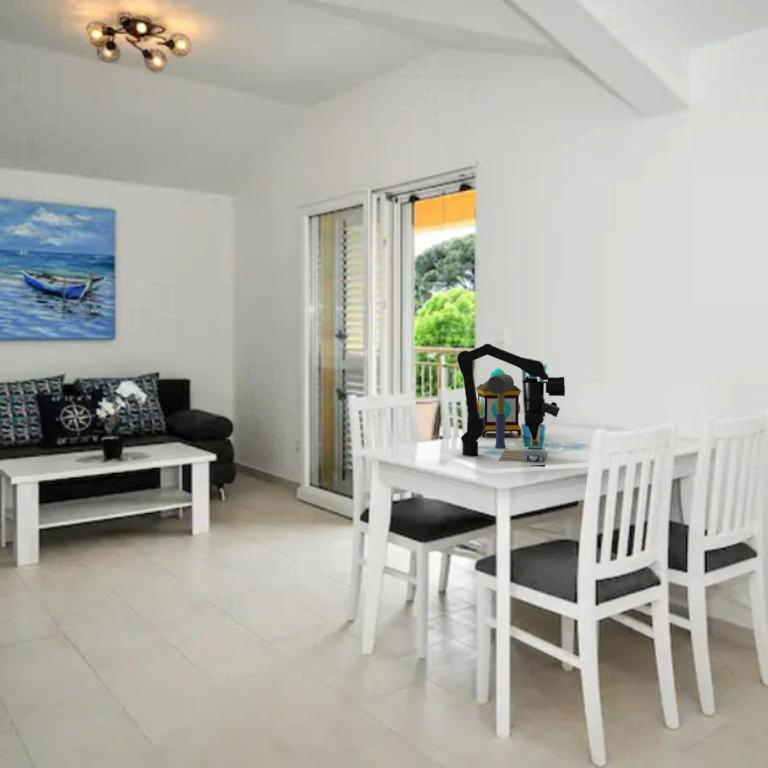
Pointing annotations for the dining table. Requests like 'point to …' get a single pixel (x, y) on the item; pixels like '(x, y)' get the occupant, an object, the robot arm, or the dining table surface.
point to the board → (517, 457)
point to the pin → (537, 441)
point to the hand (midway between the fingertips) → (534, 438)
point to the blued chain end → (534, 454)
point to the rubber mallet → (500, 404)
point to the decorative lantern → (490, 404)
